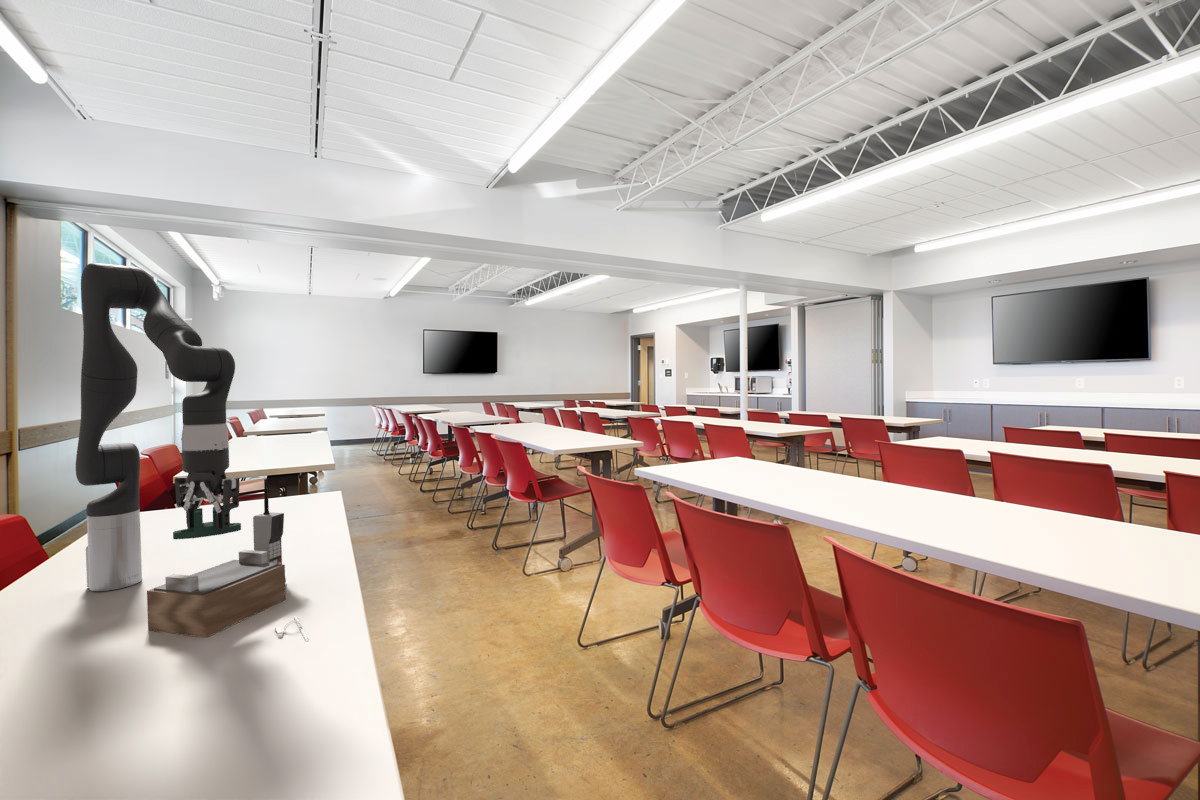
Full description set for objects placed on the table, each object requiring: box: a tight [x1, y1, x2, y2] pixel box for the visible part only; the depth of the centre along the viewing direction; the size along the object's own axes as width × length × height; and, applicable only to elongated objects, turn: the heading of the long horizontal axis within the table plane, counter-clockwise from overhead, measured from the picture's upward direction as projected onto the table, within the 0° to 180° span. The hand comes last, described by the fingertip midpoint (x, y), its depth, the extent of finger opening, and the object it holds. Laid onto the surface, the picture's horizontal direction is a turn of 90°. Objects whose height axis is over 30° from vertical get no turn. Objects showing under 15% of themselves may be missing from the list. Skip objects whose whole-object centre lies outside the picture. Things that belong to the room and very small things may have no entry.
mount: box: [172, 506, 242, 540], centre depth 107 cm, size 11×4×5 cm, turn 125°
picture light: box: [274, 615, 310, 642], centre depth 101 cm, size 14×4×2 cm, turn 38°
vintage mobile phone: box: [252, 478, 287, 584], centre depth 124 cm, size 4×5×25 cm
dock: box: [146, 549, 287, 638], centre depth 108 cm, size 14×18×10 cm
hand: (208, 529), depth 107 cm, fingers closed on mount, 7 cm apart
